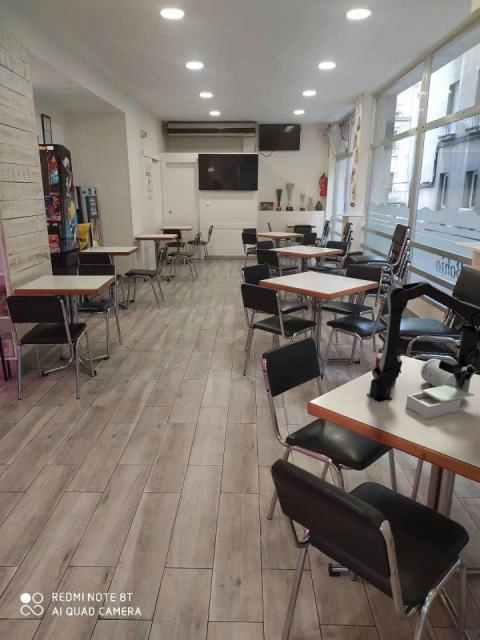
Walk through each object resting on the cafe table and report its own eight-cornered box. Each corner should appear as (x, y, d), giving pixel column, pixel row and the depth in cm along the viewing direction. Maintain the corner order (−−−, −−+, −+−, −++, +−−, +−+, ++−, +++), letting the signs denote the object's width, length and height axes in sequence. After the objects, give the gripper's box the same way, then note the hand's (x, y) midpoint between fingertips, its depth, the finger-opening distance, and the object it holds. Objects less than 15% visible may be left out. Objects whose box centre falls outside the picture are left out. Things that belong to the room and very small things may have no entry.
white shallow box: (426, 419, 139) (428, 406, 138) (405, 407, 147) (407, 395, 146) (458, 412, 145) (460, 399, 144) (436, 400, 153) (438, 388, 151)
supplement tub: (445, 372, 170) (472, 388, 156) (424, 385, 169) (450, 403, 156) (436, 353, 166) (464, 367, 153) (416, 366, 166) (441, 382, 152)
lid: (443, 402, 141) (445, 389, 139) (422, 391, 148) (423, 378, 147) (473, 395, 146) (476, 382, 145) (452, 385, 154) (454, 373, 152)
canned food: (392, 389, 161) (396, 361, 158) (370, 384, 165) (373, 357, 162) (397, 382, 167) (401, 355, 164) (376, 377, 171) (379, 351, 169)
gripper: (470, 354, 134) (462, 401, 138) (511, 348, 142) (502, 392, 146) (440, 343, 144) (434, 387, 148) (481, 338, 151) (473, 380, 156)
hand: (461, 387), depth 149 cm, fingers closed on lid
